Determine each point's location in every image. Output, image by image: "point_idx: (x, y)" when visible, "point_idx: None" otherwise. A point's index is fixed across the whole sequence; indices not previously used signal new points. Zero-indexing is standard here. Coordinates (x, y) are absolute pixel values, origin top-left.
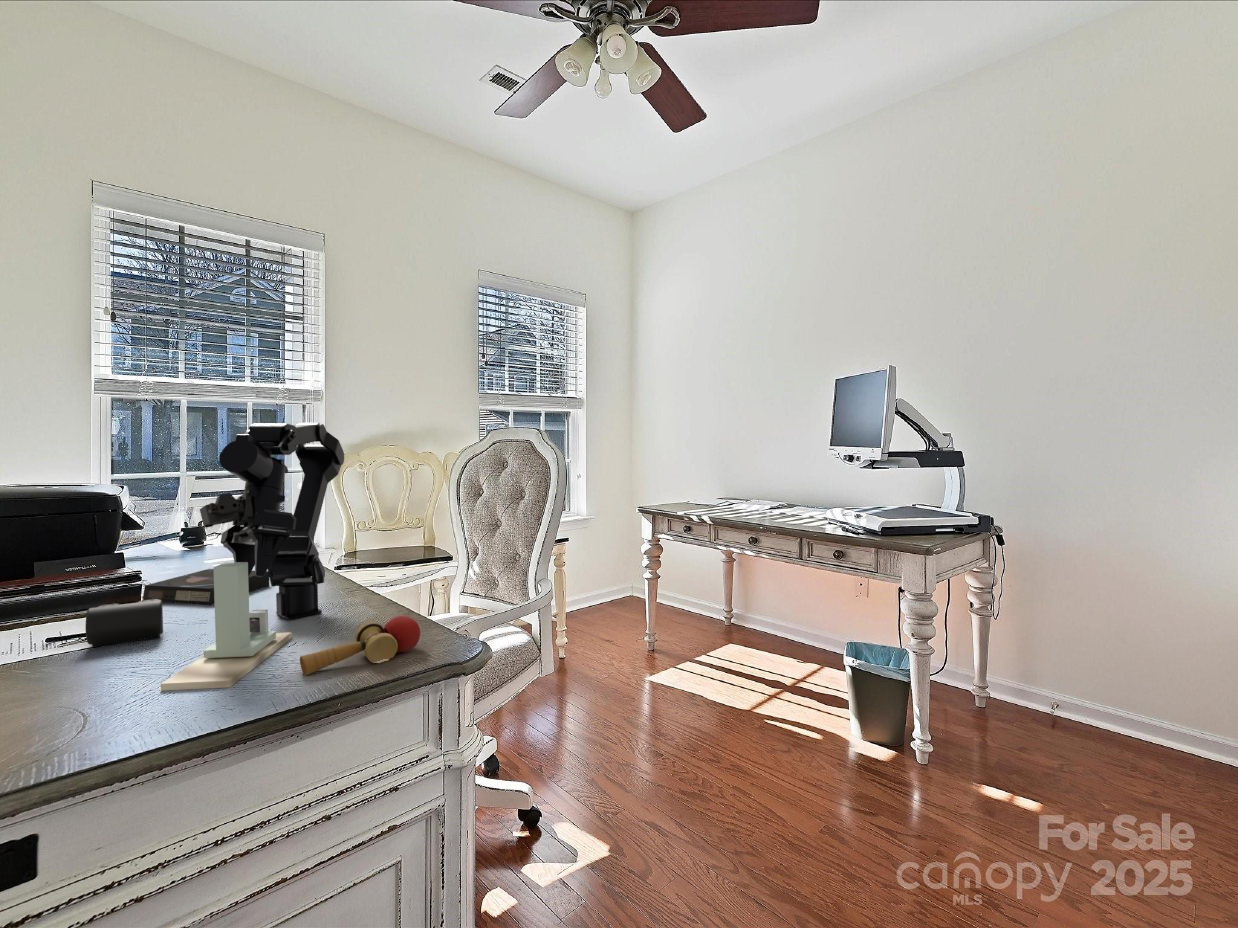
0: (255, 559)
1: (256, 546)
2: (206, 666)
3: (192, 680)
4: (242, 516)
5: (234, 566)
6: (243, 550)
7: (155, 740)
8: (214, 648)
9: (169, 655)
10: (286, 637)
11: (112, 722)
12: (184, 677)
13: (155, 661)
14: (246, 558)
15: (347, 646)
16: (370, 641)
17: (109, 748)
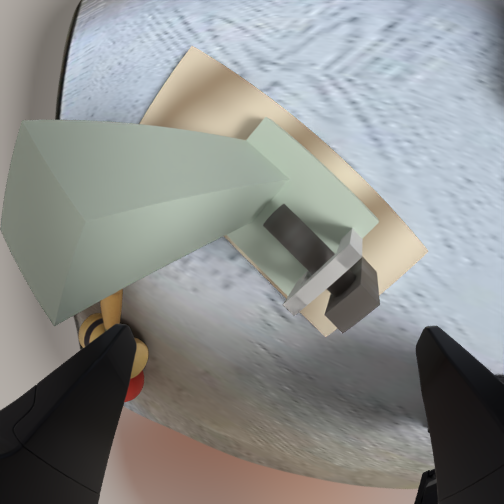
0: (70, 373)
1: (10, 417)
2: (224, 117)
3: (167, 89)
4: None
5: (4, 222)
6: (496, 495)
7: (75, 67)
8: (262, 140)
9: (428, 94)
10: (305, 315)
11: (138, 15)
12: (192, 78)
13: (402, 62)
14: (468, 461)
15: (101, 309)
16: (84, 326)
17: (88, 33)
